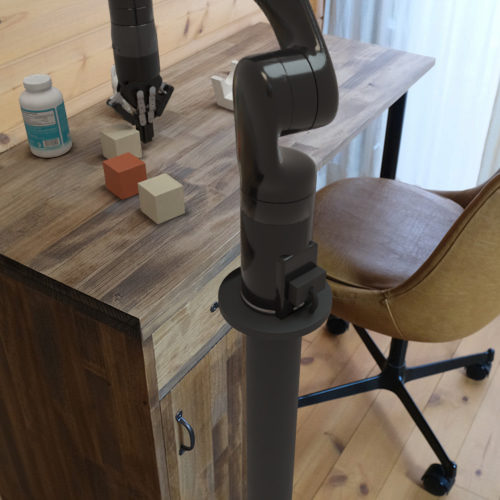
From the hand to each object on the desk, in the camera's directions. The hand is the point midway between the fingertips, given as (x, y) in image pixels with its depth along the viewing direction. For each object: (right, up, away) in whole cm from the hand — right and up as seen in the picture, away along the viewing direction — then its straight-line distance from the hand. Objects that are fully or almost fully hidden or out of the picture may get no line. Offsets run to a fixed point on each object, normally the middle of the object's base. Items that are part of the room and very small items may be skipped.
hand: (146, 140), depth 118 cm
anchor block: (-1, -10, -11) cm, 15 cm away
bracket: (+19, +9, +15) cm, 25 cm away
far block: (-4, -3, -2) cm, 5 cm away
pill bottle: (-17, -2, 0) cm, 17 cm away
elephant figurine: (-5, +8, +14) cm, 17 cm away
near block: (+5, -14, -17) cm, 22 cm away
